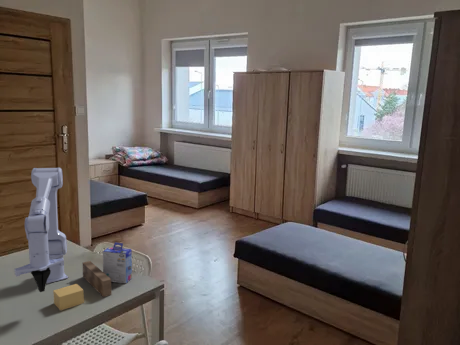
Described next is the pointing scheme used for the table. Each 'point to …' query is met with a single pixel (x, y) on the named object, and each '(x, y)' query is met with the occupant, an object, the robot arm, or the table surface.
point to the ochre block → (68, 296)
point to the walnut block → (97, 278)
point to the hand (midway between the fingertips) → (41, 290)
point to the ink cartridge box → (118, 263)
